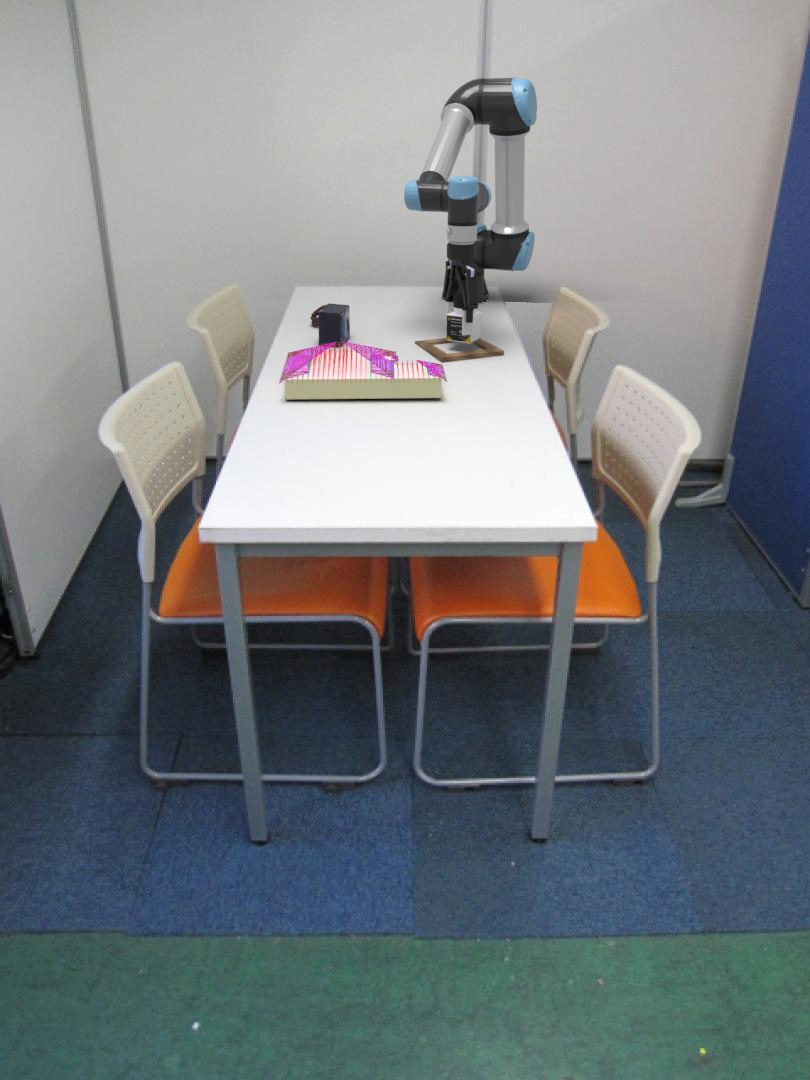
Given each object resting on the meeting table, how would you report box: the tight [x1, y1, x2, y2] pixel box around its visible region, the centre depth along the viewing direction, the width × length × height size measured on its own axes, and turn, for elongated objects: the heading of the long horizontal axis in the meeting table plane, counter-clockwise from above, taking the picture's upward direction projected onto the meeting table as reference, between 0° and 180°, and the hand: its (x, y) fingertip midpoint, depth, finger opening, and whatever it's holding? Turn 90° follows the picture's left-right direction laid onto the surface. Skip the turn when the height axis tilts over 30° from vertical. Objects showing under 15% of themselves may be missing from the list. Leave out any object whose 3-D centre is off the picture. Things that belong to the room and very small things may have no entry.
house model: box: [278, 341, 448, 400], centre depth 208 cm, size 38×25×10 cm
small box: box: [317, 303, 351, 349], centre depth 238 cm, size 11×6×10 cm, turn 168°
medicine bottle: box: [445, 293, 483, 344], centre depth 232 cm, size 7×7×12 cm
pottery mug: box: [309, 304, 327, 328], centre depth 255 cm, size 12×9×8 cm
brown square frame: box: [414, 337, 505, 364], centre depth 235 cm, size 18×18×2 cm
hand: (458, 330), depth 232 cm, fingers closed on medicine bottle, 9 cm apart
